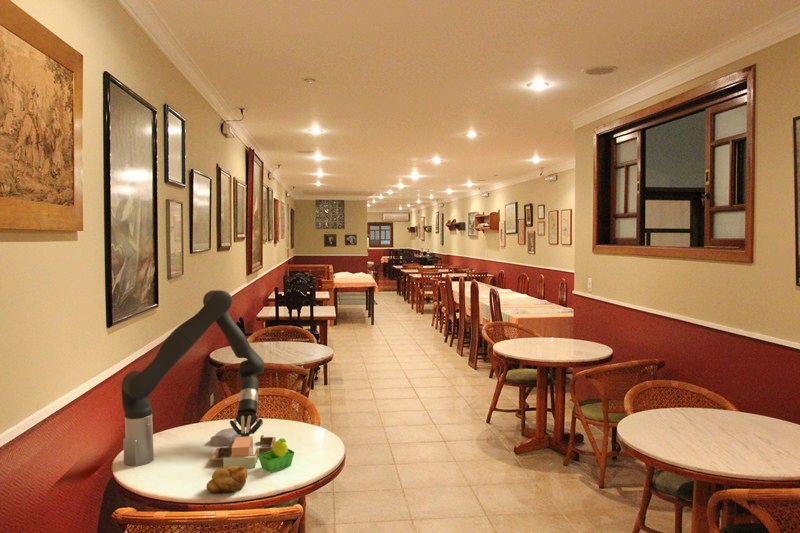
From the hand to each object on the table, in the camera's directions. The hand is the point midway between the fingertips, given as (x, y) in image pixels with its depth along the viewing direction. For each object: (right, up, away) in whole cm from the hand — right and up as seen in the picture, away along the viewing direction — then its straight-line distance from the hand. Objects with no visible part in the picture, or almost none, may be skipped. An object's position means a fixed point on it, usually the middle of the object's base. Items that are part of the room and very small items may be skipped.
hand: (244, 443), depth 216 cm
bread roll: (+2, -6, -28) cm, 29 cm away
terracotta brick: (+1, -5, -6) cm, 8 cm away
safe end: (+2, -5, -12) cm, 13 cm away
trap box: (0, -4, +1) cm, 4 cm away
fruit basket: (+15, -5, -12) cm, 20 cm away
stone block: (-12, -4, +17) cm, 21 cm away
